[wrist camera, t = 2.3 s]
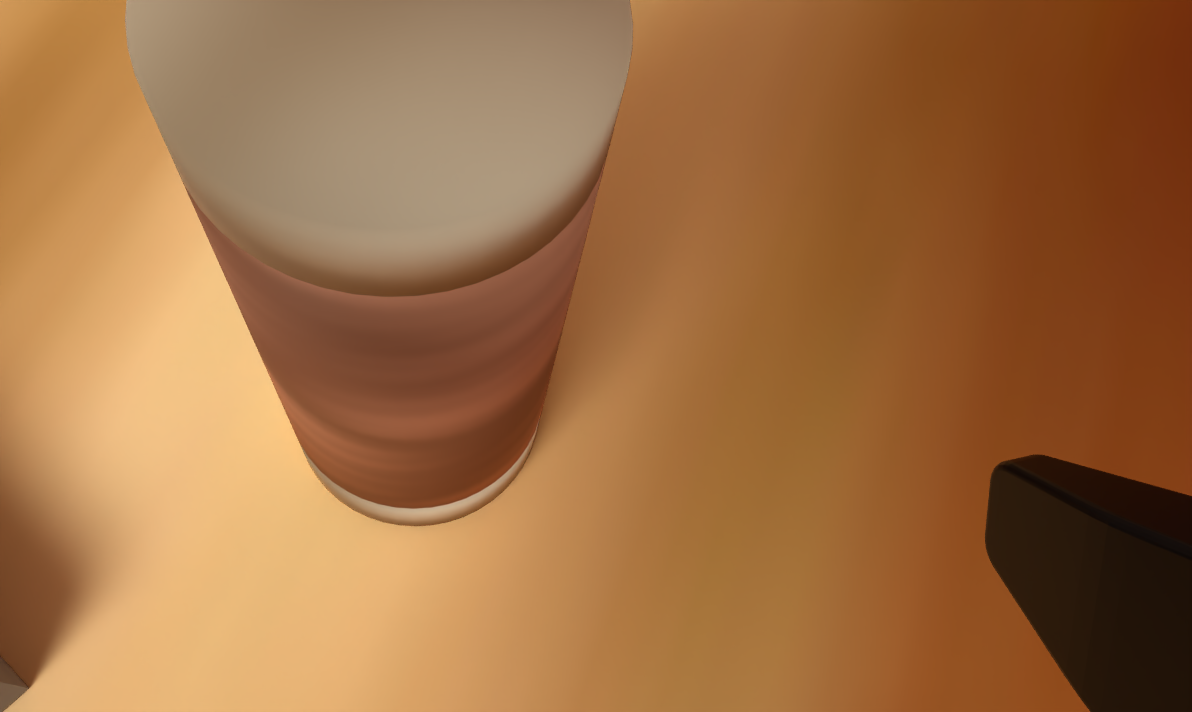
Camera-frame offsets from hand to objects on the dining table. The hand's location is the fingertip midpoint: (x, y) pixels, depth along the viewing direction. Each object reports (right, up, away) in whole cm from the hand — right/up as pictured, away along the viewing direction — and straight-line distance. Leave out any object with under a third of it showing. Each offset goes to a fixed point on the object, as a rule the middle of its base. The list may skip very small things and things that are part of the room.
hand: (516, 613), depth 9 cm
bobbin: (-3, +1, +13) cm, 14 cm away
